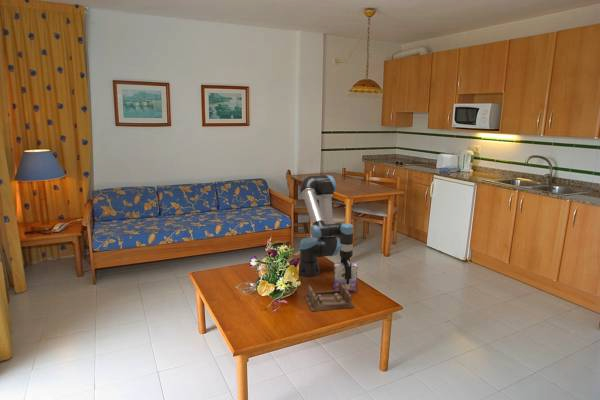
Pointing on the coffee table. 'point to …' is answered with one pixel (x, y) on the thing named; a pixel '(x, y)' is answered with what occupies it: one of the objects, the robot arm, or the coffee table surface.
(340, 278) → the candy box
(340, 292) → the peg frame
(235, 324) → the coffee table surface
